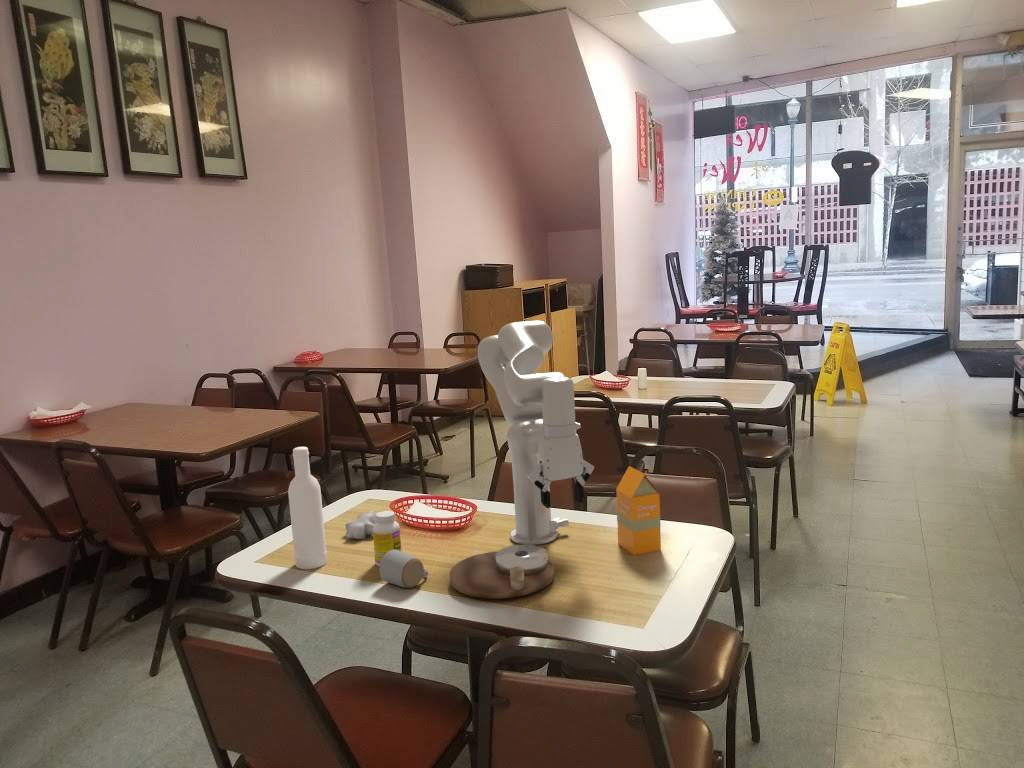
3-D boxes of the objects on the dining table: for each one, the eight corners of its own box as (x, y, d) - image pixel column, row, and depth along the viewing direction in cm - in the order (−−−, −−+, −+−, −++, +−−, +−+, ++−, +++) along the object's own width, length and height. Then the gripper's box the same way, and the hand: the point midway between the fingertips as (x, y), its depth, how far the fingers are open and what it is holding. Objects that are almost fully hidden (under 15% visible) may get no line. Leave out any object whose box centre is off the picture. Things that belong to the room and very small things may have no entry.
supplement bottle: (396, 568, 189) (392, 518, 187) (371, 568, 191) (367, 518, 189) (406, 558, 196) (402, 509, 194) (381, 557, 197) (377, 509, 195)
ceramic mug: (404, 594, 174) (402, 561, 173) (379, 586, 179) (377, 554, 178) (436, 578, 183) (435, 547, 181) (412, 571, 188) (410, 541, 186)
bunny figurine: (336, 526, 211) (364, 503, 225) (339, 543, 212) (367, 519, 226) (366, 529, 208) (393, 505, 221) (368, 546, 209) (395, 522, 222)
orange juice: (644, 538, 201) (642, 463, 198) (661, 549, 192) (659, 472, 189) (617, 543, 198) (614, 467, 195) (633, 555, 190) (630, 476, 187)
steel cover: (536, 553, 188) (535, 540, 187) (555, 570, 177) (555, 557, 176) (489, 562, 184) (488, 549, 183) (506, 580, 173) (505, 566, 172)
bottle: (333, 562, 196) (323, 446, 191) (306, 572, 190) (294, 453, 185) (316, 555, 201) (305, 443, 196) (289, 565, 195) (277, 449, 191)
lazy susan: (531, 550, 194) (530, 529, 193) (571, 585, 172) (570, 562, 171) (438, 567, 186) (437, 545, 185) (467, 607, 164) (465, 582, 163)
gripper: (586, 423, 185) (589, 494, 188) (518, 432, 180) (522, 505, 182) (600, 428, 178) (603, 502, 181) (530, 438, 173) (534, 514, 175)
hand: (562, 503), depth 182 cm, fingers open, 7 cm apart
